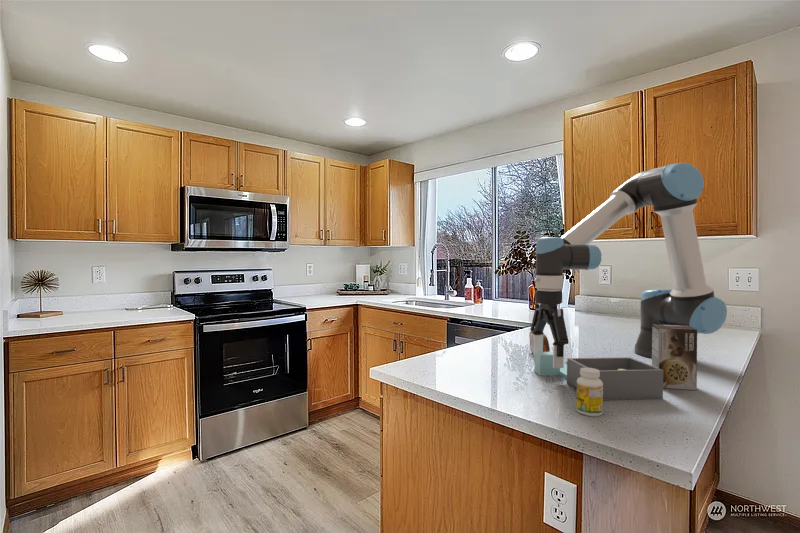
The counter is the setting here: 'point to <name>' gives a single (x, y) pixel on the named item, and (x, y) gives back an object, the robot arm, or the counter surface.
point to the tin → (545, 343)
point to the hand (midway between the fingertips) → (547, 361)
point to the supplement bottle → (589, 392)
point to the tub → (620, 377)
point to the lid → (548, 365)
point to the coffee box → (675, 355)
